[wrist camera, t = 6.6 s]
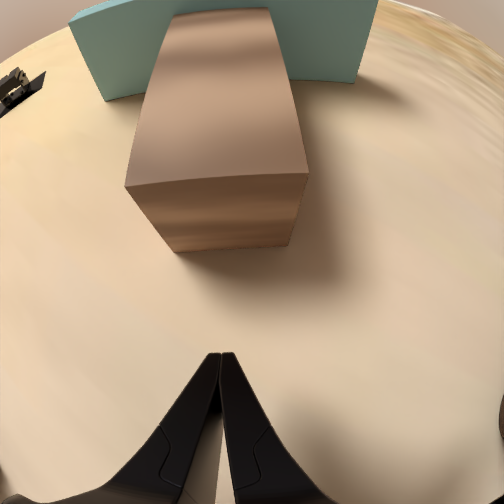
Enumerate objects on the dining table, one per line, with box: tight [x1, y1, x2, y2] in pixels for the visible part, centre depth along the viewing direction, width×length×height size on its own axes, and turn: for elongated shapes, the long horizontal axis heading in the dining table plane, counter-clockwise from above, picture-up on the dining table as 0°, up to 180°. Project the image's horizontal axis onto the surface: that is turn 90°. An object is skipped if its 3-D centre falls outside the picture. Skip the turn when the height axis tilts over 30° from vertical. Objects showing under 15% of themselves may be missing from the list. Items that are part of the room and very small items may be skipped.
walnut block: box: [124, 7, 309, 252], centre depth 17 cm, size 16×7×8 cm, turn 3°
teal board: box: [68, 0, 378, 101], centre depth 19 cm, size 8×24×10 cm, turn 94°
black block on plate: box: [0, 67, 46, 118], centre depth 24 cm, size 12×7×5 cm, turn 114°
